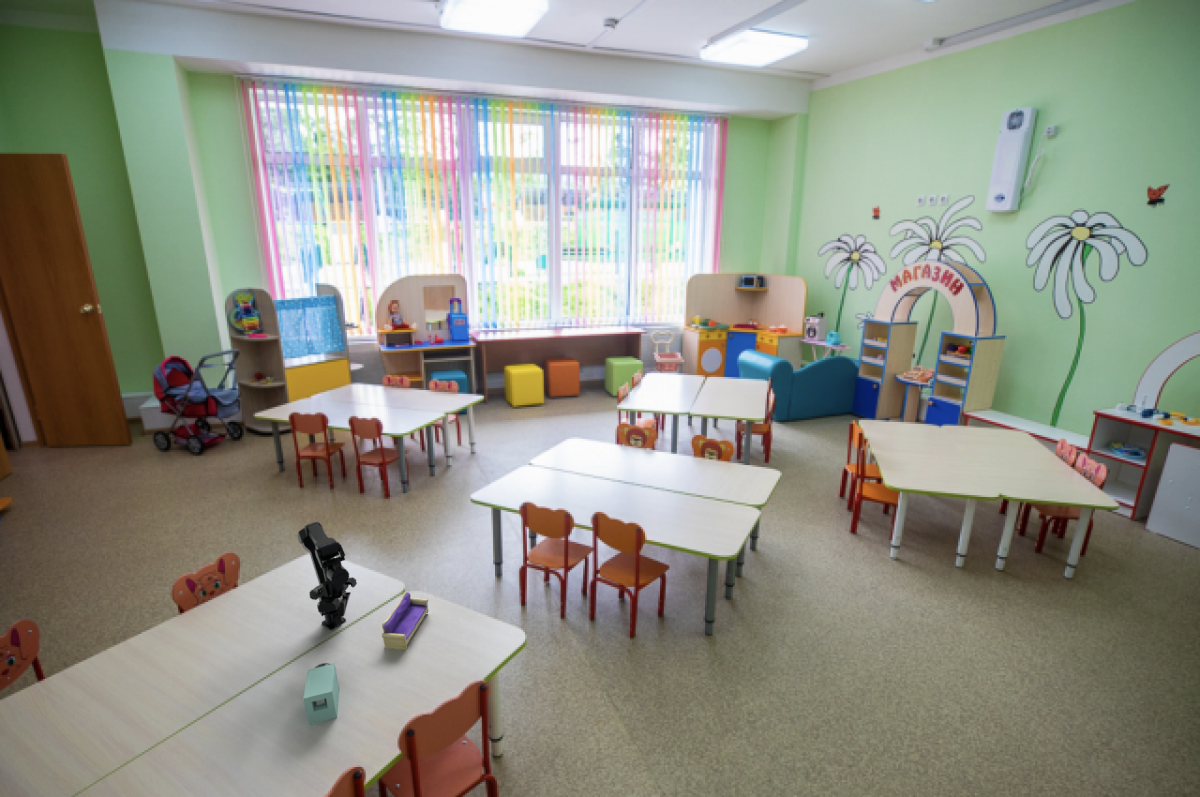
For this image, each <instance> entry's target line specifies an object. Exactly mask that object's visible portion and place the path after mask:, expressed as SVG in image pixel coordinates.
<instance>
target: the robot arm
mask: <svg viewBox="0 0 1200 797" xmlns="http://www.w3.org/2000/svg"><path fill="white" fill-rule="evenodd" d="M297 539H298V542H299V544H301V545H302V546H301V547H302V549H304V550H305V551H306V552H308V553H309V555H310V556H309V557H310V559H311V562H312V566H313V568H314V572H315V575H316V578H317V582H318V585H316V586H315V587H314V588H313V589H311V590H310V591H309V598H310V599H311V600H314V601H316V600H318V603H317V604H316V606H317V611H318V613H319V614H320V616H321V617H324V620H322V621H321V625H323V626H325V627H326V628H328V630H334V628H336V627H338V626H340V625H341V624H343V623H345V622H346V620H347V618H345V617H344V616H346V611H347V607H348V603H349V599H350V597H351V596H350V595H351V592H350V591H348V592H347V589H348V588H349V587H351V588H352V589H353V588H355V587H356V585H357V584H358V583H357V579H356V578H355V577H350V572H349V570H347V568H345V567H344V566H343V564H342V562H343V561H346V558H345V557H346V552H345V551H344V549H343V546H342V544H340V542H338V541H337V540H336V539H335V538H333V537H329V536H328V535H327V534H326V532H325V531H324V528H323V524H321V523H320V521H313V522H311V523H307V524H305V525H304V527H303V528H302V529H300V530H299V531H298V532H297Z"/></svg>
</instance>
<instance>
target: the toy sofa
mask: <svg viewBox="0 0 1200 797" xmlns="http://www.w3.org/2000/svg"><path fill="white" fill-rule="evenodd" d="M428 602H429V599H427V598H425V599H424V598H417V597H416V598H415V597H411V593H409V591H408V592H407V591H404V593H403V595H402V596H401V599H399V601H398V602H397V604H396V605H395V607H394V609H393V610H392V611H391V613H390V615H389V616H388V617H387V619H386V620H384V621H383V622H382V624H381V627H382V630H383V631H382V633H381V638H383V644H384V648H385V649H391V650H402V651H403V650H404V651H406V650H408V644H409V642H410V641H411V638H412V637H413V636H414V634H415V632H416V631H417V629H418V628H419V626H420V624H421V622H422V620H424V618H425V616H426V613H428V612H429V605H428Z"/></svg>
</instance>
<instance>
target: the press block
mask: <svg viewBox="0 0 1200 797" xmlns="http://www.w3.org/2000/svg"><path fill="white" fill-rule="evenodd" d="M330 664H331V663H330ZM304 685H305V687H304V690H303V691H304V692H303V698H302V700H303V704H304V708H305V712H306V713H305V714H306V717H307V722H308V726H310V725H313V724H318V723H323V722H326V721H330V720H333V719H337V718H338V712H339V699H340V684H339V679H338V673H337V668H336V664H335V663H332V664H331V665H326V666H322V667H318V668H315V667H314V668H310V669H307V672H306V680H305V684H304ZM325 698H326V700H325V703H324V704H321V705H316V701H317V700H321V699H325Z"/></svg>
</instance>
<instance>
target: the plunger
mask: <svg viewBox="0 0 1200 797" xmlns="http://www.w3.org/2000/svg"><path fill="white" fill-rule="evenodd" d="M326 665H331V663H327V662H325V663H323V662H322V663H319V664H318V665H316V666H315V667H314V668H318V667H322V666H326ZM325 700H326V698H325V699H321V700H317V701H316V705H321V704H324V703H325Z"/></svg>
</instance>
